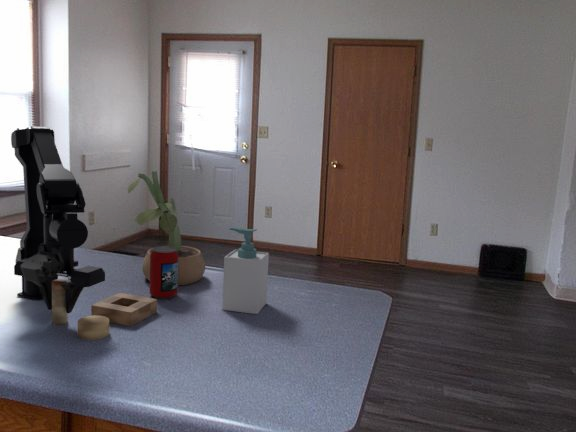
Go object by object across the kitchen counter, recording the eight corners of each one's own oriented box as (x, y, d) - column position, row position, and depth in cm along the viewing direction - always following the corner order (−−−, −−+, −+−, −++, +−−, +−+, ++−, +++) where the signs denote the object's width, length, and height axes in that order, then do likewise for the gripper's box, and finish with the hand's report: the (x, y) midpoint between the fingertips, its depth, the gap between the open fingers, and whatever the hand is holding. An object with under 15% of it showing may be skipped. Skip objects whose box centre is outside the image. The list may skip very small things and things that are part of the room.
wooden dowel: (49, 323, 117) (48, 282, 115) (59, 319, 120) (58, 278, 118) (60, 326, 116) (60, 284, 114) (70, 321, 119) (70, 280, 117)
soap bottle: (232, 299, 140) (235, 223, 136) (266, 303, 138) (270, 227, 135) (221, 310, 131) (224, 230, 128) (257, 314, 130) (261, 233, 126)
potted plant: (174, 266, 167) (177, 165, 162) (217, 279, 156) (221, 171, 151) (109, 280, 149) (109, 167, 144) (152, 296, 138) (154, 175, 133)
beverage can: (170, 301, 135) (171, 252, 133) (144, 297, 137) (145, 249, 135) (181, 293, 142) (182, 247, 140) (156, 290, 143) (157, 244, 141)
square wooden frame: (91, 318, 121) (91, 305, 121) (119, 305, 131) (119, 292, 130) (130, 326, 118) (131, 312, 118) (156, 311, 127) (157, 299, 127)
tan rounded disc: (71, 337, 111) (70, 322, 110) (90, 327, 117) (90, 313, 116) (96, 342, 109) (96, 328, 109) (115, 332, 115) (115, 318, 114)
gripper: (-9, 239, 110) (-7, 315, 113) (69, 251, 104) (69, 331, 107) (33, 230, 121) (35, 300, 123) (106, 241, 115) (106, 313, 117)
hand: (59, 311), depth 117 cm, fingers open, 4 cm apart
